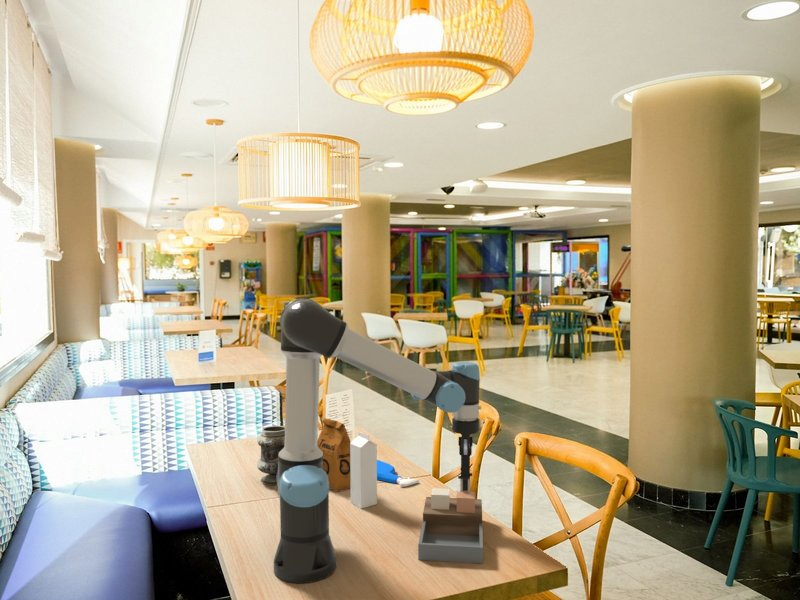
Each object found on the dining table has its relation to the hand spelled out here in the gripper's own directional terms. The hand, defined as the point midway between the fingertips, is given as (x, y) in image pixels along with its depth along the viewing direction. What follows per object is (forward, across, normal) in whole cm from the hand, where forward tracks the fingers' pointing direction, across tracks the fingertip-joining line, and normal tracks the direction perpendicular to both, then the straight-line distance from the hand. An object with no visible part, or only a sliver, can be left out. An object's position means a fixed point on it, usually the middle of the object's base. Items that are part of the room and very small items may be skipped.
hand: (465, 500), depth 171 cm
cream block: (+1, -2, +7) cm, 7 cm away
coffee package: (+8, +27, +43) cm, 51 cm away
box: (+7, -15, +3) cm, 17 cm away
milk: (+8, +13, +31) cm, 34 cm away
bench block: (+7, -2, +3) cm, 8 cm away
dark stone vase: (+8, +30, +65) cm, 72 cm away
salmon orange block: (+1, -3, 0) cm, 3 cm away
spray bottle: (+8, +37, +27) cm, 47 cm away
